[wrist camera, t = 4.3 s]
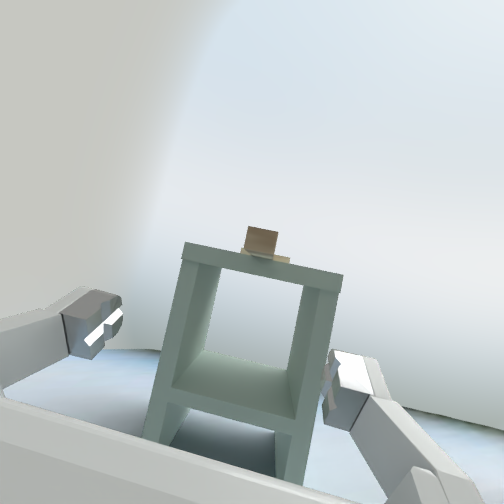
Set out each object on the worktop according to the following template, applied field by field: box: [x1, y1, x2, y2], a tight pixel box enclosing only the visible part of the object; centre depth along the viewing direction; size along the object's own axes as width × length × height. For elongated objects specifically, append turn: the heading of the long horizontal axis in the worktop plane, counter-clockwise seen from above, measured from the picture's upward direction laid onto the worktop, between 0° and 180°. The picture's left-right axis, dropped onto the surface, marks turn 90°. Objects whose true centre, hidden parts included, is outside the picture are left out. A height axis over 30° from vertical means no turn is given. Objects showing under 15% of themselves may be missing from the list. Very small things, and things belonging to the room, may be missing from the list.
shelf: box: [141, 242, 343, 486], centre depth 35 cm, size 18×15×26 cm
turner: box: [241, 226, 290, 263], centre depth 31 cm, size 23×7×2 cm, turn 176°
